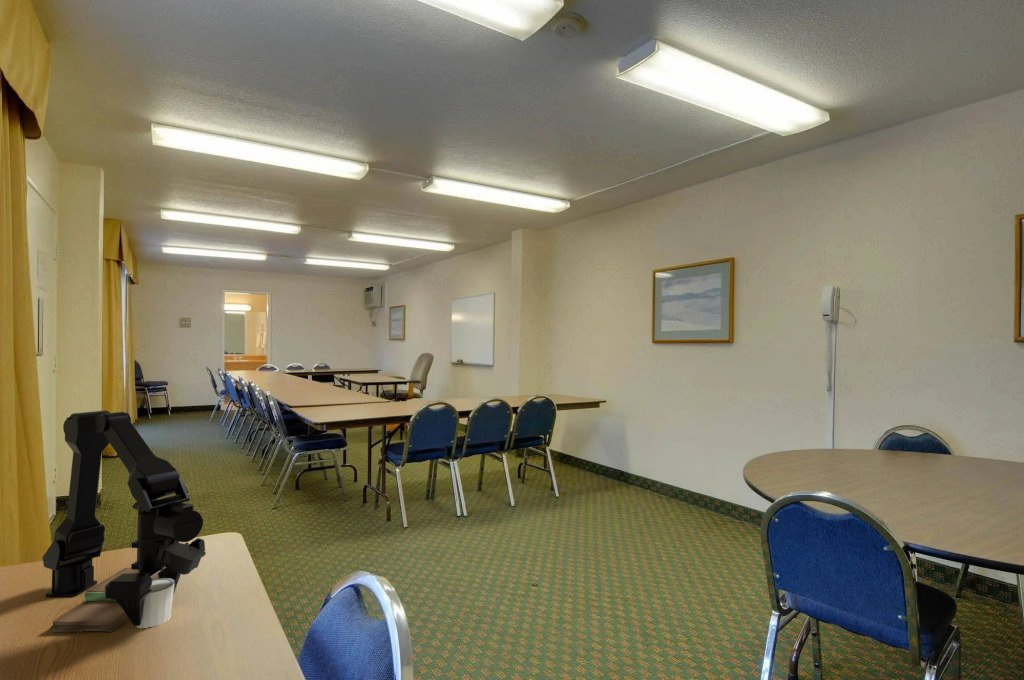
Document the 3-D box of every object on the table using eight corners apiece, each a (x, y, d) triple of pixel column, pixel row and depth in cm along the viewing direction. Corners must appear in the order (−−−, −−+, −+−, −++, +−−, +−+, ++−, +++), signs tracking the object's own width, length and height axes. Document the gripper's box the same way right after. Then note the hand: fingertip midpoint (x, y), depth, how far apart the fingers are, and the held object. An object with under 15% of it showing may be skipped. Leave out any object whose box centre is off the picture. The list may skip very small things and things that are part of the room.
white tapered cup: (182, 615, 104) (183, 580, 104) (148, 633, 98) (149, 595, 98) (157, 609, 106) (158, 575, 106) (123, 626, 100) (123, 589, 100)
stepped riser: (50, 633, 97) (51, 611, 97) (124, 585, 116) (125, 567, 116) (110, 633, 97) (111, 611, 97) (174, 585, 117) (175, 567, 117)
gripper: (166, 551, 93) (164, 639, 93) (221, 517, 112) (220, 590, 111) (103, 551, 93) (101, 639, 93) (169, 517, 111) (167, 590, 111)
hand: (153, 612), depth 102 cm, fingers open, 9 cm apart
